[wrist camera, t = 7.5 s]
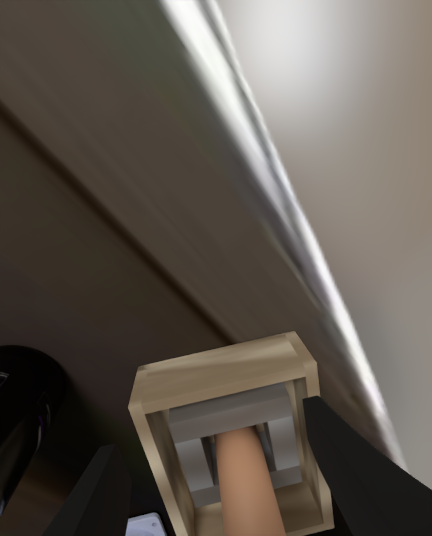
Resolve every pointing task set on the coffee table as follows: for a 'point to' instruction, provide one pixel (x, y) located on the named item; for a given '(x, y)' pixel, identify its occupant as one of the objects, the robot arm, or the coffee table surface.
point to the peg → (246, 485)
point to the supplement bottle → (24, 410)
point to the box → (230, 418)
